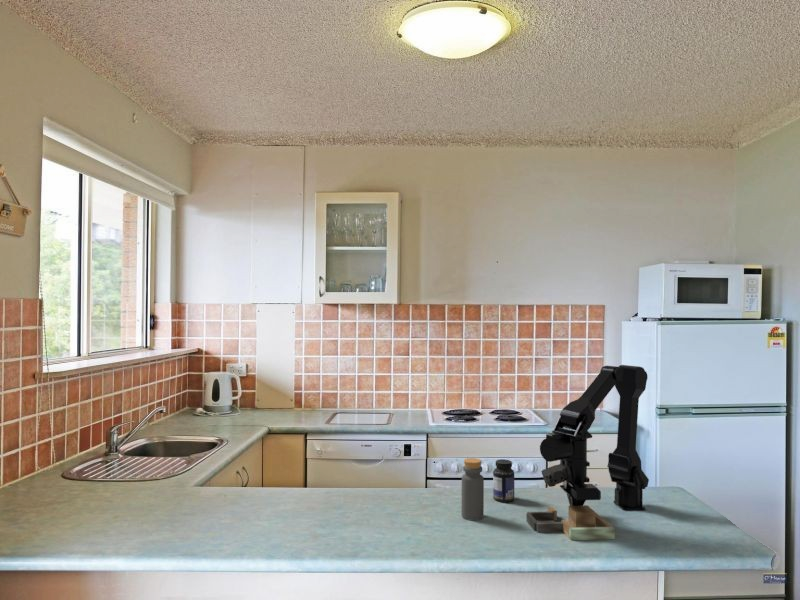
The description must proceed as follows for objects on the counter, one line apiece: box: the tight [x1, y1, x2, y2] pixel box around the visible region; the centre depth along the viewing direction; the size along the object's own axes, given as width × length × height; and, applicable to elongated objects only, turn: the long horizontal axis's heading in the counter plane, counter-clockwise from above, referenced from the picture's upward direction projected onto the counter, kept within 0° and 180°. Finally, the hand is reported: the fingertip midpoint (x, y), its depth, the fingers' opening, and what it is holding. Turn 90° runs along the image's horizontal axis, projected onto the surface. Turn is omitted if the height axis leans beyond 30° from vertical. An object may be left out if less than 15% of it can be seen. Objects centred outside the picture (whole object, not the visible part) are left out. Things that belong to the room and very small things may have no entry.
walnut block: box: [567, 504, 596, 528], centre depth 144 cm, size 5×5×5 cm
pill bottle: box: [492, 458, 515, 503], centre depth 166 cm, size 6×6×11 cm
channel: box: [525, 504, 616, 541], centre depth 145 cm, size 18×16×2 cm
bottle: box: [461, 457, 485, 521], centre depth 152 cm, size 6×6×15 cm
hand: (574, 516), depth 148 cm, fingers closed
